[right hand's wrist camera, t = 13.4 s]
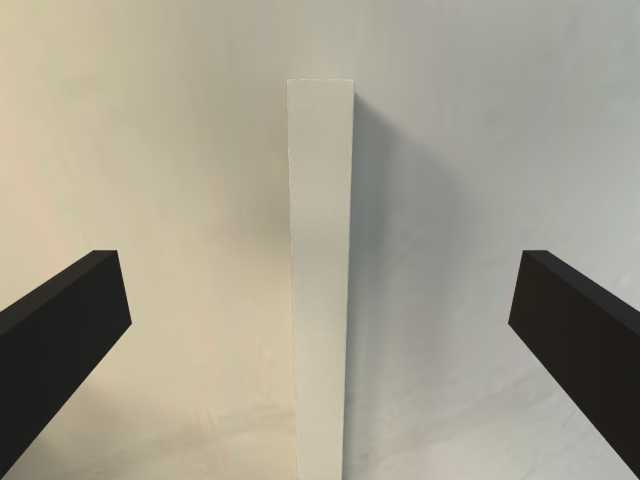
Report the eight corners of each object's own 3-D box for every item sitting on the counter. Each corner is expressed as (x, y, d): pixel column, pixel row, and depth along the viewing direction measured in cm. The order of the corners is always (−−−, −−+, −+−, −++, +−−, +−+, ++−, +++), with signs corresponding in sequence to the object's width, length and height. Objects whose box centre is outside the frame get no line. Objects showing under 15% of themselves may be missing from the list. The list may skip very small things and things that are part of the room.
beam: (293, 84, 32) (286, 79, 25) (346, 84, 32) (354, 79, 25) (303, 558, 54) (301, 630, 46) (334, 558, 54) (337, 630, 46)
